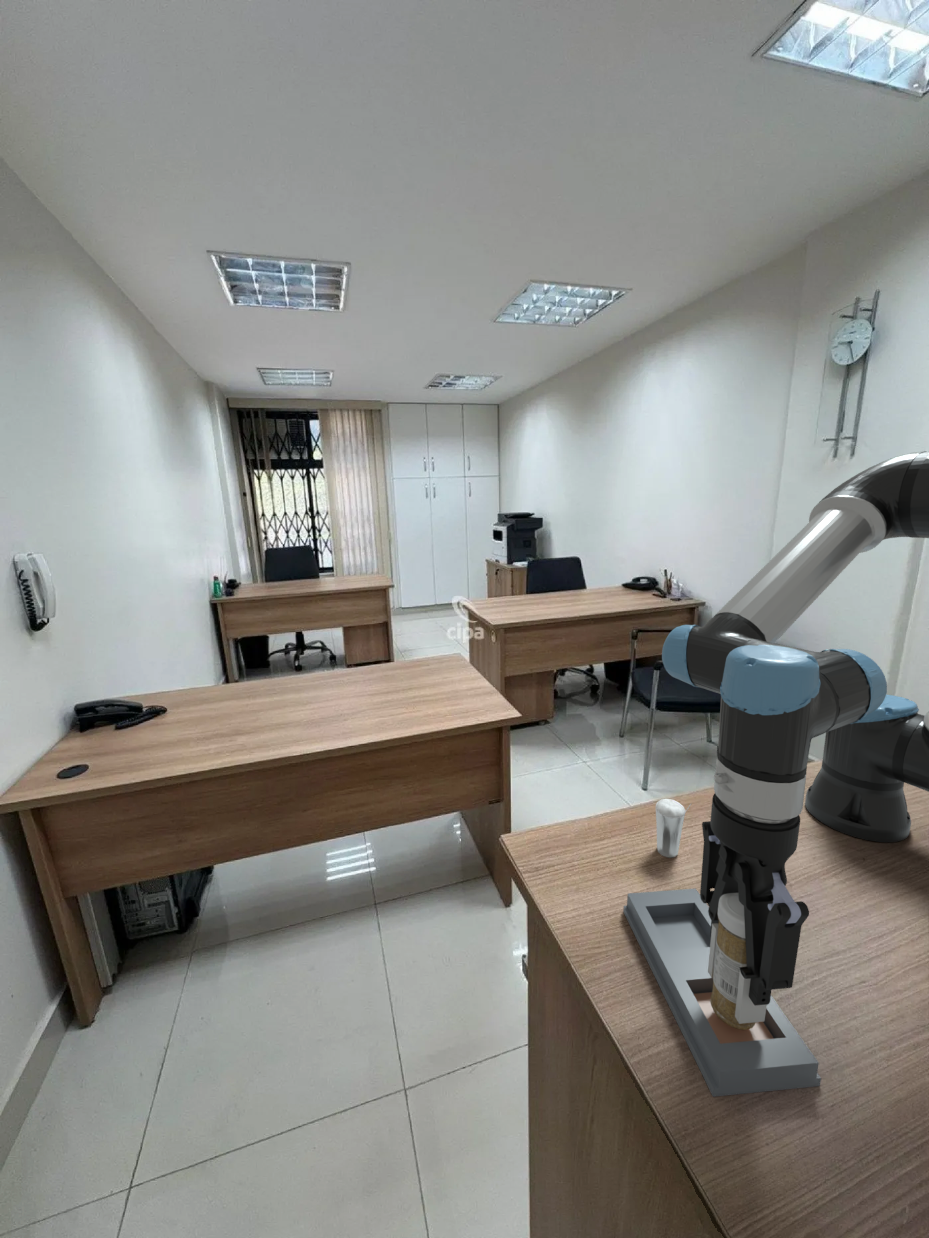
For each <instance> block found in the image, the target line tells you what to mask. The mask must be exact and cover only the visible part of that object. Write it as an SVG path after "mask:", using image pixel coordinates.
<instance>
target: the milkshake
mask: <svg viewBox="0 0 929 1238" xmlns="http://www.w3.org/2000/svg"><path fill="white" fill-rule="evenodd" d="M691 805H692V803H690V804H689V805H688V807H687V808H686V809H685V807H684V805H682V804H681V803H680V802H678V801H676V800H675V799H670V798H662V799H659V800H658V801H657V802H656V803H655V821H656V822H655V824H656V849H657V853H658V854H660V855H661V856H663V857H666V858H668V859H669V858H671V859H672V858H675V857H677V856H678V855H679V850H680V843H681V837H682V831H683V825H684V822H685V820H684V819H685V816H686V812H687V811H688V810H689V808H690V806H691Z"/></svg>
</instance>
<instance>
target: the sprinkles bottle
mask: <svg viewBox="0 0 929 1238" xmlns="http://www.w3.org/2000/svg"><path fill="white" fill-rule="evenodd" d="M718 920H719V924H718V935H717V939H716V951H715V961H714V972H713V990H712V994H711V999H710V1003H711V1006H712V1008H713V1010H714V1012H715V1013H716V1015H717V1016H718V1017H719V1019H721V1020H722V1021H723V1022H724V1023H726V1024H728V1025H729V1026H731V1027H733V1028H736V1029H740V1030H746V1029H751V1028H753V1027H754V1025H755V1024H756V1022H753V1023H742V1024H739V1023H738V1021H737V1019H736V1018H735V1010H736V1001H737V992H738V983H739V973H740V965H744V964H747V960H746V940H745V919H744V906H743V905H742V904H741V903H740V902H739V896H738V893H727V894H723V895H722V896H721V897H720V899H719V904H718Z"/></svg>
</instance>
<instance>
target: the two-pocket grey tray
mask: <svg viewBox="0 0 929 1238" xmlns="http://www.w3.org/2000/svg"><path fill="white" fill-rule="evenodd" d="M622 908H623V914H624V916H625V919H626V921H627V922H628V924H629V926H630V928H631V930H632V932H633V934H634V937H635V939H636V940H637V943H638V945H639V947H640V949H641V952H642V953H643V955H644V957H645V959H646V962H647V963H648V966H649V967H650V970H651V972H652V974H653V976H654V978H655V980H656V982H657V984H658V986H659V989H660V991H661V992H662V994H663V997H664V999H665V1001H666V1003H667V1005H668V1007H669V1009H670V1011H671V1014H672V1015H673V1017H674V1020H675V1022H676V1023H677V1026H678V1028H679V1029H680V1032H681V1034H682V1036H683V1038H684V1040H685V1042H686V1045H687V1047H688V1049H689V1050H690V1053H691V1054H692V1057H693V1059H694V1061H695V1062H696V1065H697V1067H698V1069H699V1071H700V1072H701V1074H702V1077H703V1080H704V1081H705V1083H706V1085H707V1087H708V1090H709V1092H710V1094H711V1096H712V1097H713V1098H714V1097H725V1096H733V1095H734V1096H735V1095H745V1094H753V1093H764V1092H765V1093H766V1092H773V1091H783V1090H793V1089H804V1088H814V1087H820V1086H821V1082H822V1077H821V1076H820V1074H819V1073H818V1070H819V1065H820V1062H819V1061H818V1059H817V1058H816V1057H815V1055H814V1053H813V1052H812V1051H811V1050H810V1048H809V1047H808V1045H807V1044H806V1043H805V1041H804V1039H803V1038H802V1036H801V1035H800V1034H799V1033H798V1031H797V1029H796V1028H795V1027H794V1025H793V1023H791V1021H790V1020H789V1018H788V1017H787V1016H786V1014H785V1013H784V1012H783V1010H782V1008H781V1007H780V1006H779V1004H778V1002H777V1001H776V1000H775V999H774V997H773V996H772V995H771V997H770V1003H769V1004H767V1005H766V1013H765V1021H763V1022H756V1024H755V1025H754V1027H753V1028H751V1029H746V1030H740V1029H736V1028H733V1027H731V1026H729V1025H728V1024H726V1023H724V1022H723V1021H722V1020H721V1019H719V1017H718V1016H717V1015H716V1013H715V1012H714V1010H713V1008H712V1006H711V1003H710V999H711V994H712V990H713V978H711V976H710V975H709V973H708V964H709V954H710V943H711V937H710V931H711V919H710V917H709V913H708V909H709V906H708V904H707V903H703V902H702V900H701V898H700V892H699V890H698V889H697V888H685V889H683V888H682V889H672V890H670V889H669V890H656V891H641V892H631V893H630V892H629V893H627V897H626V905H623V907H622Z"/></svg>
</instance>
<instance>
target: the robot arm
mask: <svg viewBox="0 0 929 1238" xmlns="http://www.w3.org/2000/svg"><path fill="white" fill-rule="evenodd" d="M808 517H809V518H808V523H807V524H805V525H804V527H803V528H802V529H801V530H799V532H798V533H797V534H795V536H794V537H793V538H791V539H790V541H788V542H787V544H785V546H784V547H782V548H781V549H780V550H779V552H777V553H776V554H775V556H773V557H772V558H771V559H770V560H769V561H768V562H767V563H766V564H765V565H764V566H763V567H762V568H761V569H760V570H759V571H757V573H756V574H755V575H753V577H752V578H751V579H750V580H748V581H747V583H746V584H745V585H744V586H743V587H741V589H739V591H738V592H737V593H736V594H735V595H734V596H733V597H732V598H731V599H730V600H728V602H726V604H724V606H722V607H721V609H719V611H717V612H716V613H715V615H713V616H712V617H711V618H710V619H709V620H708V621H707V622H706V623H705V624H704V625H703V626H700V625H698V624H683V625H680V626H676V627H675V628H673V629H672V630H671V631H670V632H669V633H668V635H667V637H666V638H665V641H663V642H664V643H663V646H662V648H661V649H662V650H661V661H662V664H663V668H664V669H665V671H666V673H668V674H669V676H671V677H672V678H675V679H677V680H679V681H682V682H684V683H686V684H688V685H690V686H692V687H694V688H701V689H705V690H707V691H710V692H713V693H717V694H720V708H719V709H720V711H719V725H718V740H717V742H718V743H717V745H716V746H717V747H716V762H715V763H716V765H715V774H714V775H713V780H714V781H713V782H714V784H713V790H714V793H713V795H712V799H711V811H710V821H709V820H708V821H702V823H701V826H702V827H701V829H702V836H703V837H702V838H703V851H702V861H701V862H702V865H701V876H700V877H701V878H700V889H699V891H700V892H699V894H700V898H701V900H702V902H703V903H706V904H707V905H708V907H709V909H708V913H709V917H710V919H711V931H710V937H711V943H710V954H709V964H708V973H709V975H710V976H711V978H713V972H714V961H715V951H716V939H717V935H718V924H719V920H718V904H719V899H720V897H721V896H722V895H723V894H727V893H738V896H739V902H740V903H741V904H742V905H743V906H744V919H745V940H746V960H747V964H744V965H740V973H739V983H738V992H737V1001H736V1010H735V1018H736V1019H737V1021H738V1023H739V1024H742V1023H753V1022H763V1021H765V1013H766V1005H767V1004H769V1003H770V997H771V996H772V990H773V991H774V990H782V989H783V990H784V989H791V988H793V983H794V977H795V971H796V965H797V964H796V963H797V958H798V951H799V950H798V949H799V943H800V937H801V931H802V925H803V924H804V923H805V922H806V920H807V919H808V917H809V916H810V910H809V907H808V906H807V904H806V903H805V902H804V901H802V900H801V901H795V900H794V898H793V896H792V895H791V893H790V892H789V890H788V889H787V887H786V886H787V884H788V878H787V874H786V873H787V872H786V863H787V861H788V860H789V859H790V858H791V857H792V856H793V855H794V853H795V852H796V851H797V848H798V841H799V834H800V833H799V832H800V824H801V816H800V815H801V814H802V811H803V808H804V807H803V806H804V805H805V808H806V810H807V812H808V813H810V815H811V816H813V817H814V818H815V819H816V820H818V821H819V822H821V823H822V824H824V825H825V826H827V827H829V828H831V829H833V830H835V831H838V832H840V833H842V834H844V835H848V836H851V837H854V838H858V839H861V840H865V841H871V842H872V841H873V842H877V843H878V842H879V843H896V842H900V841H903V840H905V839H907V838H908V837H909V835H910V831H911V826H912V820H911V815H910V813H909V811H908V805H907V799H906V796H905V792H904V786H905V784H907V785H910V786H913V787H914V788H918V789H920V790H923V791H926V792H928V793H929V711H927V712H926V713H925V715H924V714H919V711H920V709H919V707H918V704H917V703H916V702H915V701H913V700H910V699H908V698H905V697H902V696H898V695H892V694H887V693H888V685H887V679H886V675H885V674H884V672H883V670H882V669H881V666H879V665H878V663H877V662H876V661H874V660H873V659H872V658H871V657H869V656H868V655H867V654H864V653H862V652H860V651H857V650H854V649H848V648H830V649H823V650H821V651H813V650H808V649H803V648H799V647H795V646H790V645H785V644H780V643H776V642H777V641H778V640H779V639H780V638H781V637H782V636H783V635H784V633H786V631H788V630H789V629H790V628H791V627H792V625H793V624H794V623H795V622H796V621H797V620H798V619H799V618H800V617H801V616H802V615H803V614H804V613H805V611H807V610H808V608H809V607H810V606H811V605H812V604H813V603H814V602H815V601H816V600H817V599H818V598H819V597H820V596H821V595H822V594H823V593H824V591H825V590H827V588H828V587H829V586H830V585H831V584H832V583H833V582H834V581H835V580H836V579H837V578H838V577H839V575H840V574H842V572H844V570H845V569H846V568H847V567H848V566H849V565H851V563H852V562H853V561H854V560H855V558H857V556H859V554H861V553H867V552H868V551H871V550H873V549H875V548H876V547H877V546H878V545H879V544H881V543H882V542H883V541H884V540H887V539H893V538H894V539H895V538H915V539H916V538H917V539H918V538H919V539H929V451H925V450H924V451H917V452H915V451H914V452H909V453H906V454H902V455H897V456H894V457H892V458H890V459H886V460H884V461H881V462H879V463H876V464H875V465H873V466H871V467H868V468H866V469H865V470H863V471H861V472H859V473H856V474H855V475H854V476H852V477H850V478H849V479H847V480H845V481H844V482H842V483H841V484H840V485H838V486H836V487H835V488H834V489H833V490H831V491H830V492H829V493H828V494H826V495H825V496H824V497H823V498H822V499H821V500H820V501H819V502H818V503H817V504H816V505H815V506H814V507H813V508H812V509H811V512H810V513H809V516H808ZM824 734H825V736H824V737H825V739H824V746H823V753H822V760H821V762H822V763H821V768H820V770H818V773H817V774H816V776H815V778H814V780H813V782H812V784H811V785H810V786H809V787H808V789H807V790H806V789H805V788H806V780H807V770H808V769H807V768H808V762H809V755H810V748H811V743H812V739H814V738H816V737H819V736H821V735H824ZM805 790H806V791H805ZM805 792H806V794H805ZM804 799H805V800H804ZM804 801H805V802H804ZM804 803H805V804H804ZM711 889H713V890H711Z"/></svg>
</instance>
